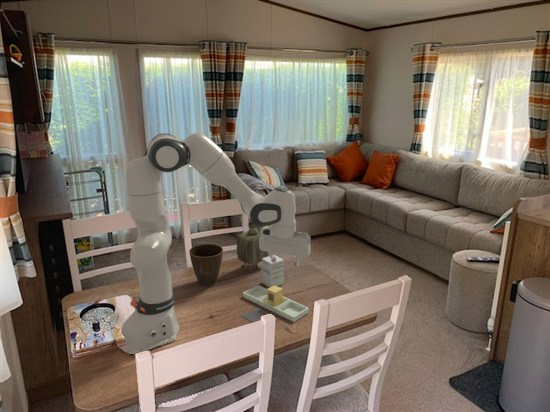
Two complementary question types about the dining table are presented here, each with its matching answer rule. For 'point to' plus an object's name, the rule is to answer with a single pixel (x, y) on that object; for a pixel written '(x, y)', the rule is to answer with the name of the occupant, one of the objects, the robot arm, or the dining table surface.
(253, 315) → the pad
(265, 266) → the supplement box
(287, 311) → the tray right
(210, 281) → the plant pot
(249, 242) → the tabletop clock
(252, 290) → the tray left
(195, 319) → the dining table surface
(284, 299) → the tray middle
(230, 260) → the dining table surface
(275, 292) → the letter block
